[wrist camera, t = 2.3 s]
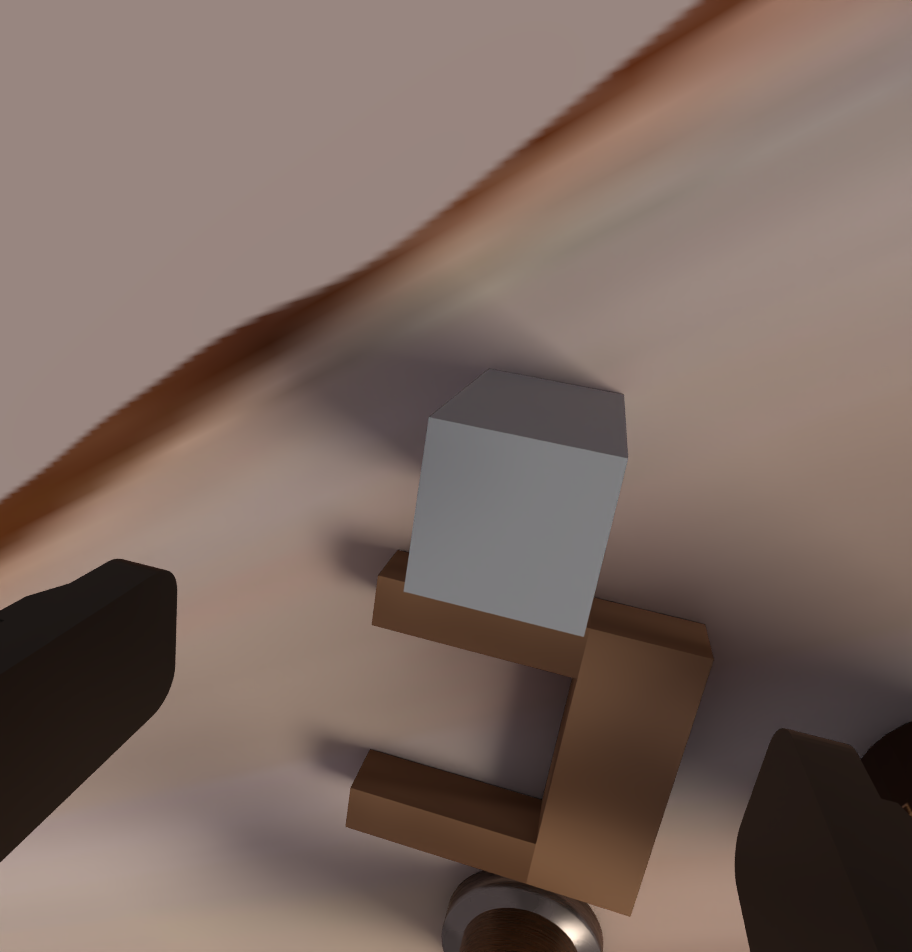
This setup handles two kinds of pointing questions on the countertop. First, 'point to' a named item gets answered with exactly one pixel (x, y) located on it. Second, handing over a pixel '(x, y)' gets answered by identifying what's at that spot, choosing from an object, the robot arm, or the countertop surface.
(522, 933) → the bobbin
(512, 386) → the grey rectangular block
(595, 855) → the u-shaped bracket
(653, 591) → the countertop surface
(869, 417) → the countertop surface
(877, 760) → the coffee mug
